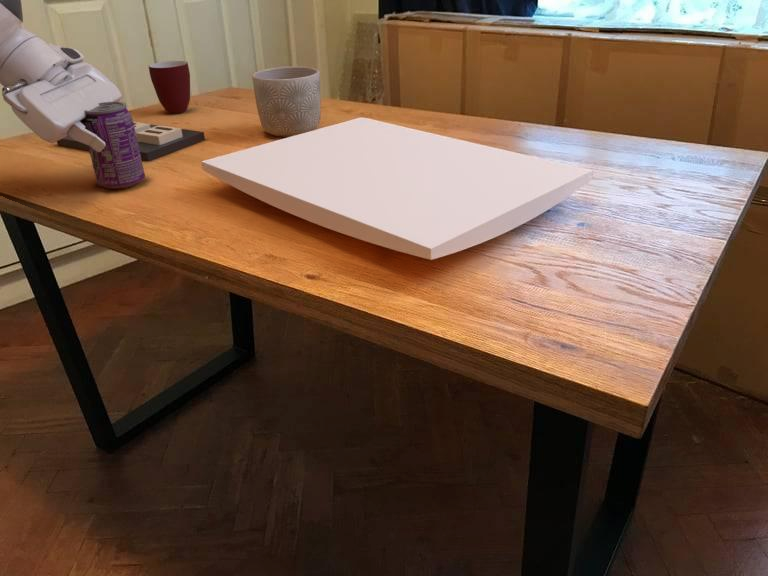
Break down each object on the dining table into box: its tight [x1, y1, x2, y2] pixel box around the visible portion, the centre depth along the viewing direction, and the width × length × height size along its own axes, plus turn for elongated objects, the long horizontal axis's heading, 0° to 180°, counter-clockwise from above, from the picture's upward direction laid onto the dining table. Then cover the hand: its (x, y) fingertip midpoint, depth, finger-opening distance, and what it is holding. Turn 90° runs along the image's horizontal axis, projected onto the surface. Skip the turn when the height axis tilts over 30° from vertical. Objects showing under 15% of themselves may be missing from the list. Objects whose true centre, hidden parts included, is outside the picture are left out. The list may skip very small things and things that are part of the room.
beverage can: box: [82, 101, 146, 190], centre depth 100 cm, size 7×7×12 cm
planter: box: [251, 65, 322, 138], centre depth 124 cm, size 12×12×11 cm
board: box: [200, 116, 594, 261], centre depth 93 cm, size 45×32×5 cm
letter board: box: [56, 121, 206, 162], centre depth 123 cm, size 24×14×3 cm, turn 61°
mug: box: [148, 60, 191, 115], centre depth 142 cm, size 11×8×10 cm
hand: (116, 139), depth 100 cm, fingers closed on beverage can, 6 cm apart
